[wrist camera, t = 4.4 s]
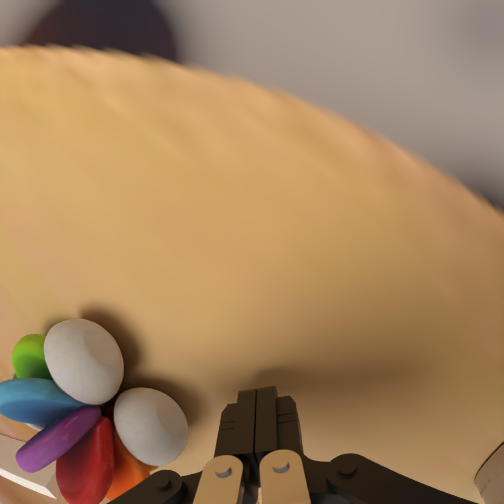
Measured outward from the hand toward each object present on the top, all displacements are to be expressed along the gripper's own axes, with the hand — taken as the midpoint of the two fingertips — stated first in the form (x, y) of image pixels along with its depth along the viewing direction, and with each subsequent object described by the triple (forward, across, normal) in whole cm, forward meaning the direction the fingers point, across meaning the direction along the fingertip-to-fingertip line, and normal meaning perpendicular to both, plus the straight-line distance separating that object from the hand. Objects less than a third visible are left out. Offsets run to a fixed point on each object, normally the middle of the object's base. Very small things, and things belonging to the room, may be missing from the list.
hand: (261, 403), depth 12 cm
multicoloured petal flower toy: (+2, +9, 0) cm, 9 cm away
